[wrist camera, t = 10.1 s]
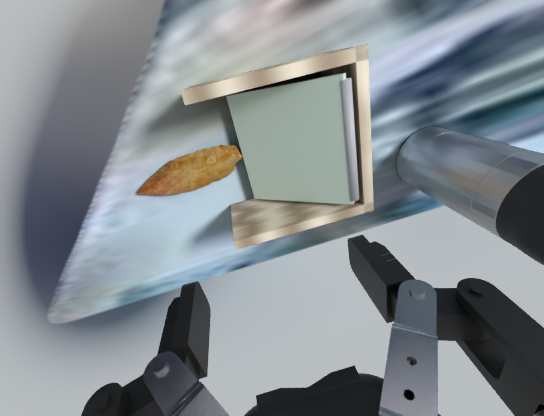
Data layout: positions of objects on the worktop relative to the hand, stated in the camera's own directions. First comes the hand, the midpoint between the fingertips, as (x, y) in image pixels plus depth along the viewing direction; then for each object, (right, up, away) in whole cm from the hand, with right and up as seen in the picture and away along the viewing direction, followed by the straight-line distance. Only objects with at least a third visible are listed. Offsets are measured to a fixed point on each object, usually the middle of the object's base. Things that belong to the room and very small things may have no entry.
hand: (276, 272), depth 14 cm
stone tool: (-4, +11, +22) cm, 24 cm away
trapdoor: (+3, +11, +18) cm, 21 cm away
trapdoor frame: (0, +13, +23) cm, 26 cm away
